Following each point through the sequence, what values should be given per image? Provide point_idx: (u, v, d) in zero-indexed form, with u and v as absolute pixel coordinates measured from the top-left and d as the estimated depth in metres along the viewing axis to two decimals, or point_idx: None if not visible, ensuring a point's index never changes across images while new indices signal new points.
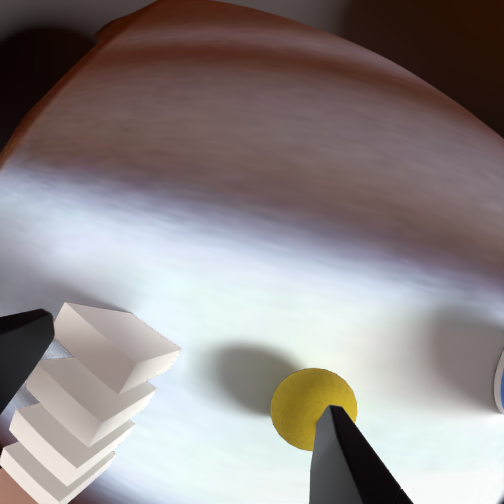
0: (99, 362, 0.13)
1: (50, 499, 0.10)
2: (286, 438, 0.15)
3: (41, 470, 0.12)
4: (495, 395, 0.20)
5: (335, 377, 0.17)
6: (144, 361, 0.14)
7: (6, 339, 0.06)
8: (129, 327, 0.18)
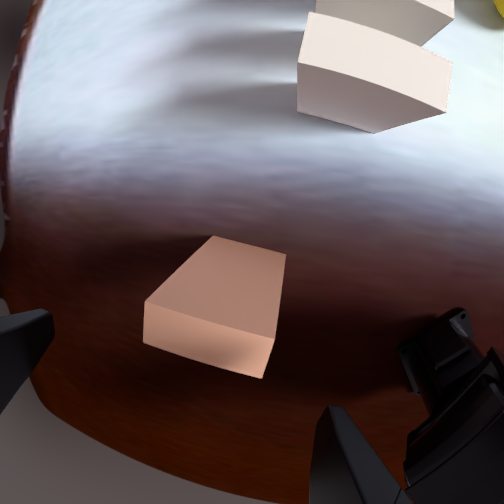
0: None
1: (437, 65, 0.07)
2: None
3: None
4: None
5: None
6: None
7: (6, 339, 0.06)
8: None
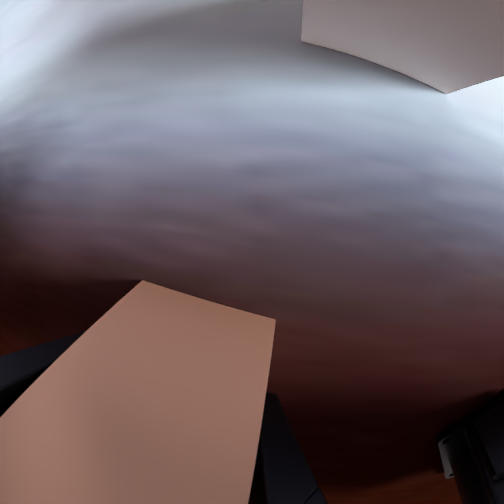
0: None
1: None
2: None
3: None
4: None
5: None
6: None
7: None
8: None
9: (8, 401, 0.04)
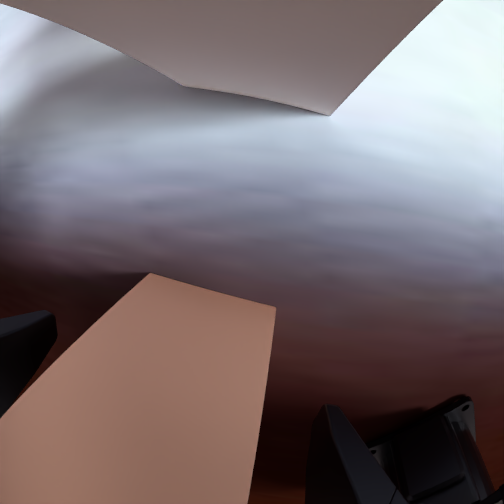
0: None
1: None
2: None
3: None
4: None
5: None
6: None
7: (9, 341, 0.06)
8: None
9: None
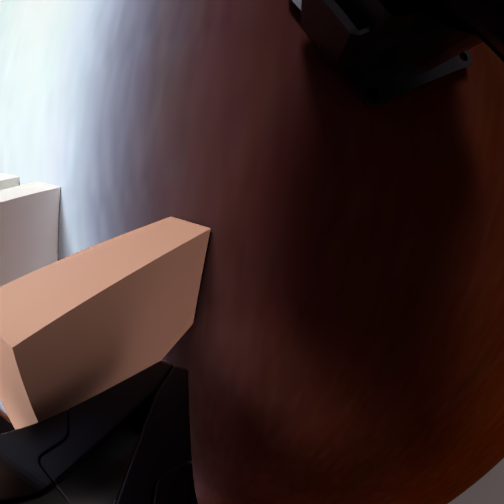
0: None
1: None
2: None
3: None
4: None
5: None
6: None
7: (141, 411, 0.06)
8: None
9: (95, 457, 0.04)
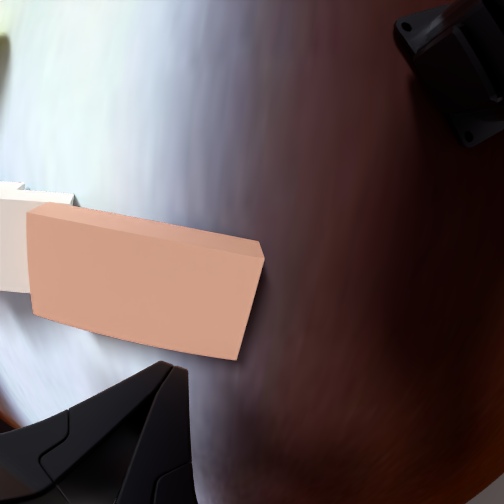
0: None
1: None
2: None
3: None
4: None
5: None
6: None
7: (141, 412, 0.06)
8: None
9: (96, 457, 0.04)
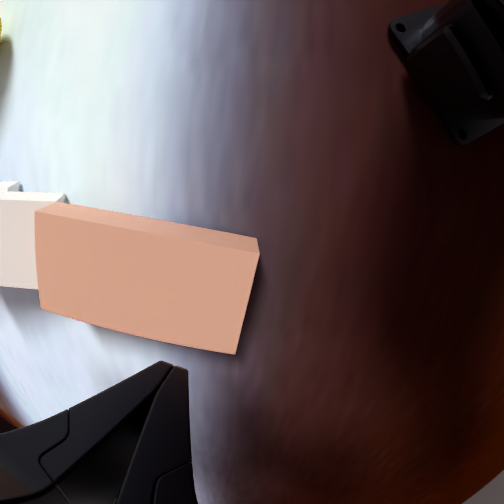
0: None
1: None
2: None
3: None
4: None
5: None
6: None
7: (141, 412, 0.06)
8: None
9: (95, 457, 0.04)
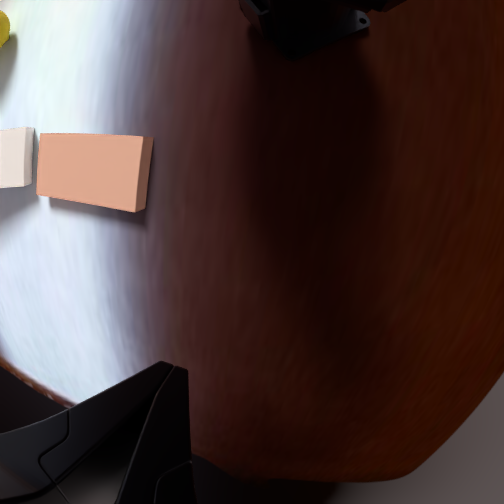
0: None
1: None
2: None
3: None
4: None
5: None
6: None
7: (141, 412, 0.06)
8: None
9: (96, 457, 0.04)
